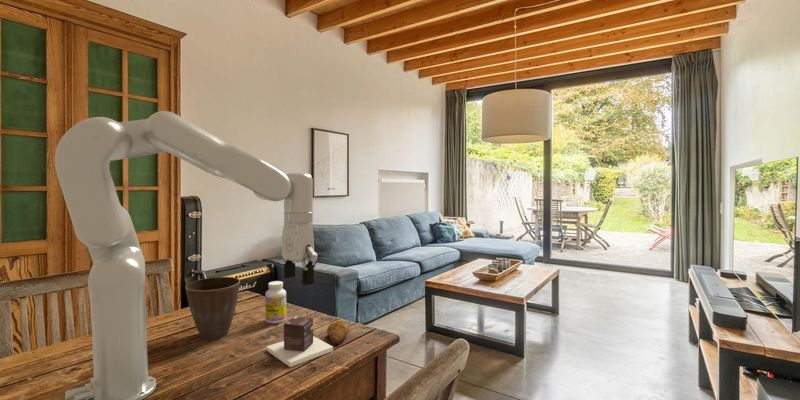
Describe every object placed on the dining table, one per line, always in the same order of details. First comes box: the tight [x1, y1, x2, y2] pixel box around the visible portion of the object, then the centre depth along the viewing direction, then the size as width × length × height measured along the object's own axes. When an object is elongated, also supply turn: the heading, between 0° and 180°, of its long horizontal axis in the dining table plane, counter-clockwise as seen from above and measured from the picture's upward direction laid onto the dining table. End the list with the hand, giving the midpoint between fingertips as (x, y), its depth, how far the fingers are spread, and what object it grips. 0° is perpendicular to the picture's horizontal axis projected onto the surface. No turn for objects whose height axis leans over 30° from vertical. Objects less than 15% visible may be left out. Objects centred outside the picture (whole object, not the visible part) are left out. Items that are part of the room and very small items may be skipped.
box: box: [283, 316, 314, 351], centre depth 105 cm, size 6×6×7 cm
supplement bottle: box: [264, 280, 287, 324], centre depth 128 cm, size 7×7×13 cm
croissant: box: [326, 320, 350, 346], centre depth 115 cm, size 14×7×5 cm, turn 4°
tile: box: [266, 335, 334, 368], centre depth 105 cm, size 13×13×1 cm
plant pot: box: [184, 276, 241, 340], centre depth 116 cm, size 15×15×16 cm
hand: (298, 280), depth 104 cm, fingers open, 9 cm apart
